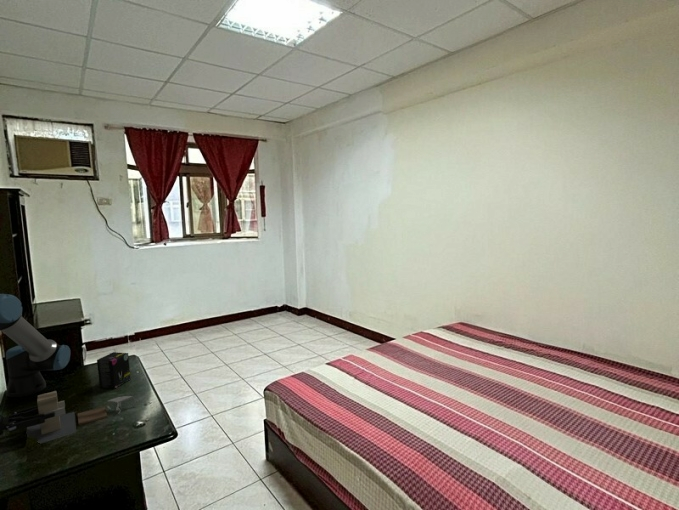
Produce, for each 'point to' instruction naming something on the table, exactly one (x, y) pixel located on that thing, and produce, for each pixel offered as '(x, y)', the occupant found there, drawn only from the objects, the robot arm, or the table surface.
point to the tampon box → (113, 370)
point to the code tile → (66, 429)
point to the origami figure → (119, 400)
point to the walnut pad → (92, 415)
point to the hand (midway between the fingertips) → (64, 407)
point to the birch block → (48, 404)
